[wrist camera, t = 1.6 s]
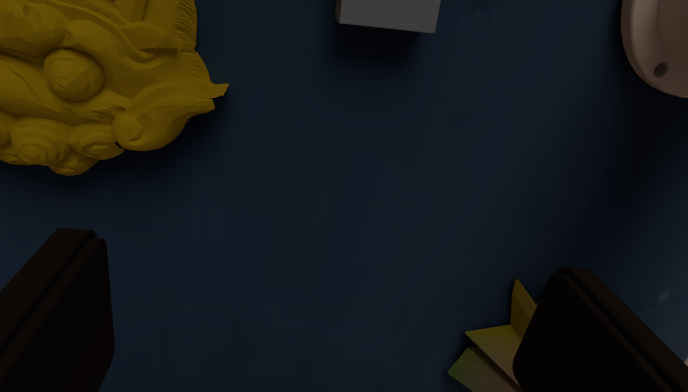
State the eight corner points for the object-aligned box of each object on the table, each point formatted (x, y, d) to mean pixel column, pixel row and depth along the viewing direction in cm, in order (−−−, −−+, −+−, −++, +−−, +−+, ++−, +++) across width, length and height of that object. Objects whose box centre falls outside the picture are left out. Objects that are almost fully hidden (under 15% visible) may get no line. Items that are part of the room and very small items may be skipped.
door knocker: (85, -244, 19) (36, -299, 15) (242, 108, 26) (235, 131, 22) (-266, -105, 19) (-398, -124, 16) (-17, 202, 27) (-67, 239, 23)
